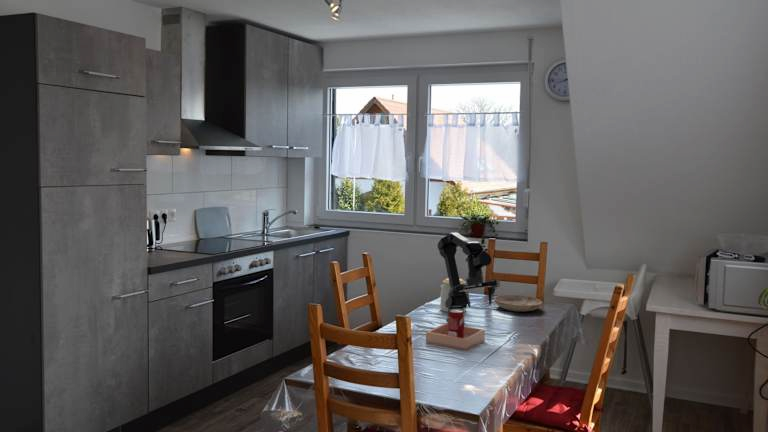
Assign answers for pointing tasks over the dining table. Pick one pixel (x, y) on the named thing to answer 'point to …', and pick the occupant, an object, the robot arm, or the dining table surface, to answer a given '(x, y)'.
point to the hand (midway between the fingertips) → (479, 305)
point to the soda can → (456, 323)
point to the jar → (444, 294)
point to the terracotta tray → (442, 339)
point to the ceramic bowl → (518, 303)
